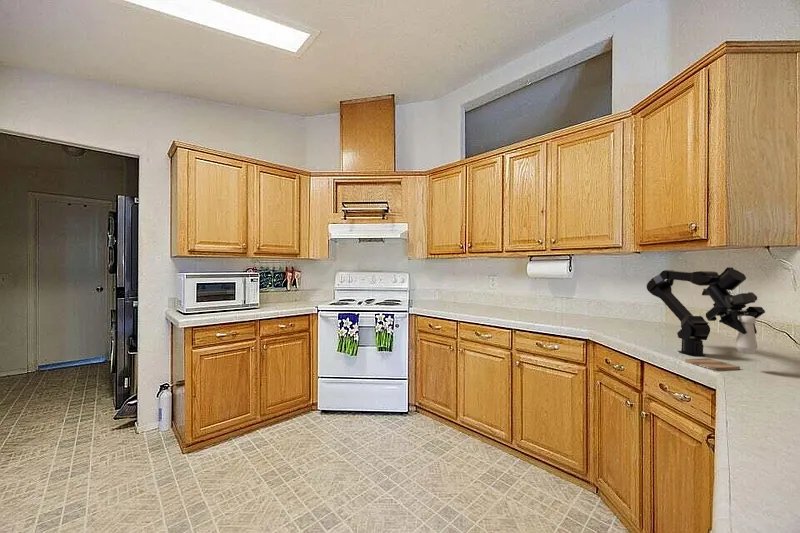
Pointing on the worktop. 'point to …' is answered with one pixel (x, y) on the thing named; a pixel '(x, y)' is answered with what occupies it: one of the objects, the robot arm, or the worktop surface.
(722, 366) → the board
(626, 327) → the worktop surface
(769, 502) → the worktop surface
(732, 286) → the robot arm
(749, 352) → the salt shaker
